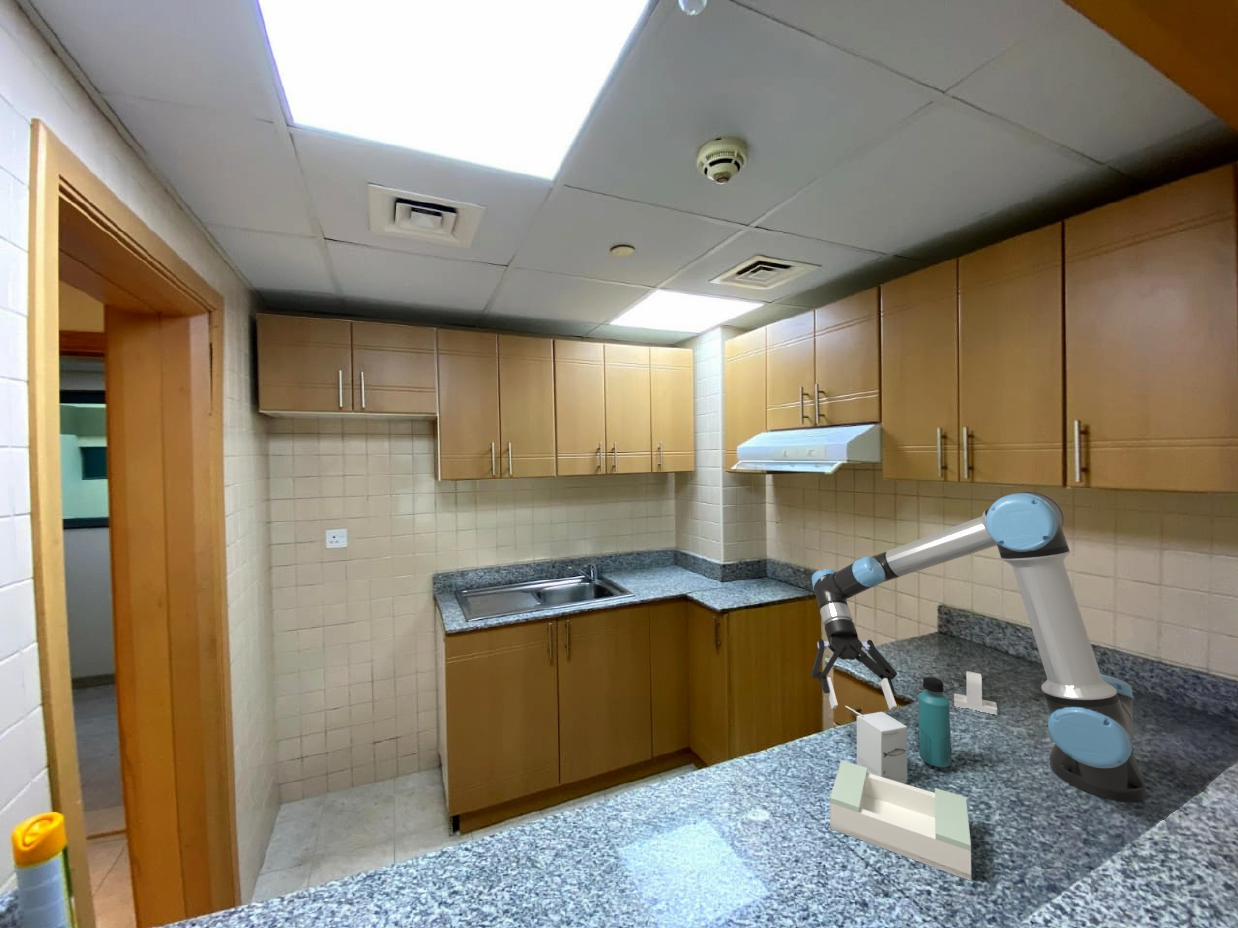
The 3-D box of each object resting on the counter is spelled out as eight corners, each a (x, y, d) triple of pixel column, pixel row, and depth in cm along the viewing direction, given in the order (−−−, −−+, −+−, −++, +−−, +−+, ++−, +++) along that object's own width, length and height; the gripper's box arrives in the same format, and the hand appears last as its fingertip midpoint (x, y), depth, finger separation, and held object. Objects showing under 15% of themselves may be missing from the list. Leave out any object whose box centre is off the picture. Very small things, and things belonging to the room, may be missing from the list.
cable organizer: (954, 699, 144) (953, 666, 144) (996, 708, 139) (995, 673, 139) (954, 706, 140) (953, 672, 140) (997, 716, 134) (997, 680, 134)
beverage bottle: (957, 775, 109) (956, 686, 109) (924, 772, 110) (923, 684, 110) (943, 758, 115) (943, 674, 115) (913, 755, 117) (912, 672, 117)
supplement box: (881, 790, 104) (880, 731, 104) (855, 769, 111) (855, 714, 112) (908, 783, 106) (908, 726, 106) (882, 764, 113) (881, 709, 114)
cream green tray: (966, 828, 93) (965, 796, 93) (971, 880, 81) (970, 845, 81) (841, 787, 105) (841, 760, 105) (830, 828, 93) (830, 797, 93)
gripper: (881, 631, 133) (911, 714, 118) (788, 629, 134) (807, 711, 119) (891, 617, 127) (924, 703, 112) (794, 616, 129) (814, 700, 114)
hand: (863, 707), depth 116 cm, fingers open, 13 cm apart
